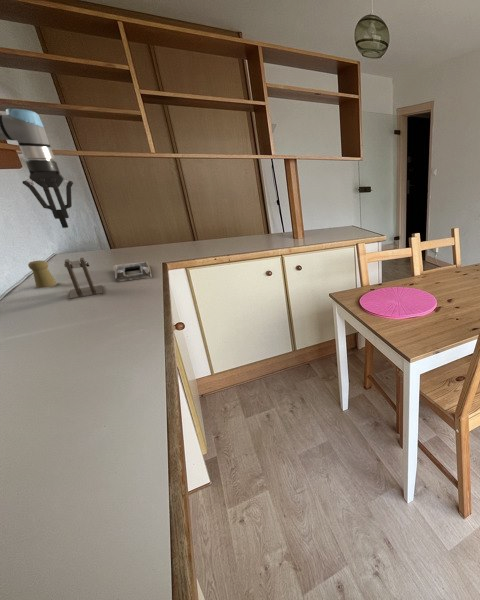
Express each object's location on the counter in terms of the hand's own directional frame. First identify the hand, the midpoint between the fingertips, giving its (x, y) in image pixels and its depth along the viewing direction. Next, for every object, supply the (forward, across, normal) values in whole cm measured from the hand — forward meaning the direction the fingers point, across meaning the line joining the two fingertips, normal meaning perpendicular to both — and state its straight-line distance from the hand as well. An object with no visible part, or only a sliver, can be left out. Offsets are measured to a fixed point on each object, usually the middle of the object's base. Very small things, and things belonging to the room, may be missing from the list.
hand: (65, 227), depth 119 cm
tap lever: (+15, 0, +6) cm, 16 cm away
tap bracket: (+24, 0, +10) cm, 27 cm away
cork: (+25, +12, -10) cm, 29 cm away
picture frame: (+25, -16, -10) cm, 31 cm away
